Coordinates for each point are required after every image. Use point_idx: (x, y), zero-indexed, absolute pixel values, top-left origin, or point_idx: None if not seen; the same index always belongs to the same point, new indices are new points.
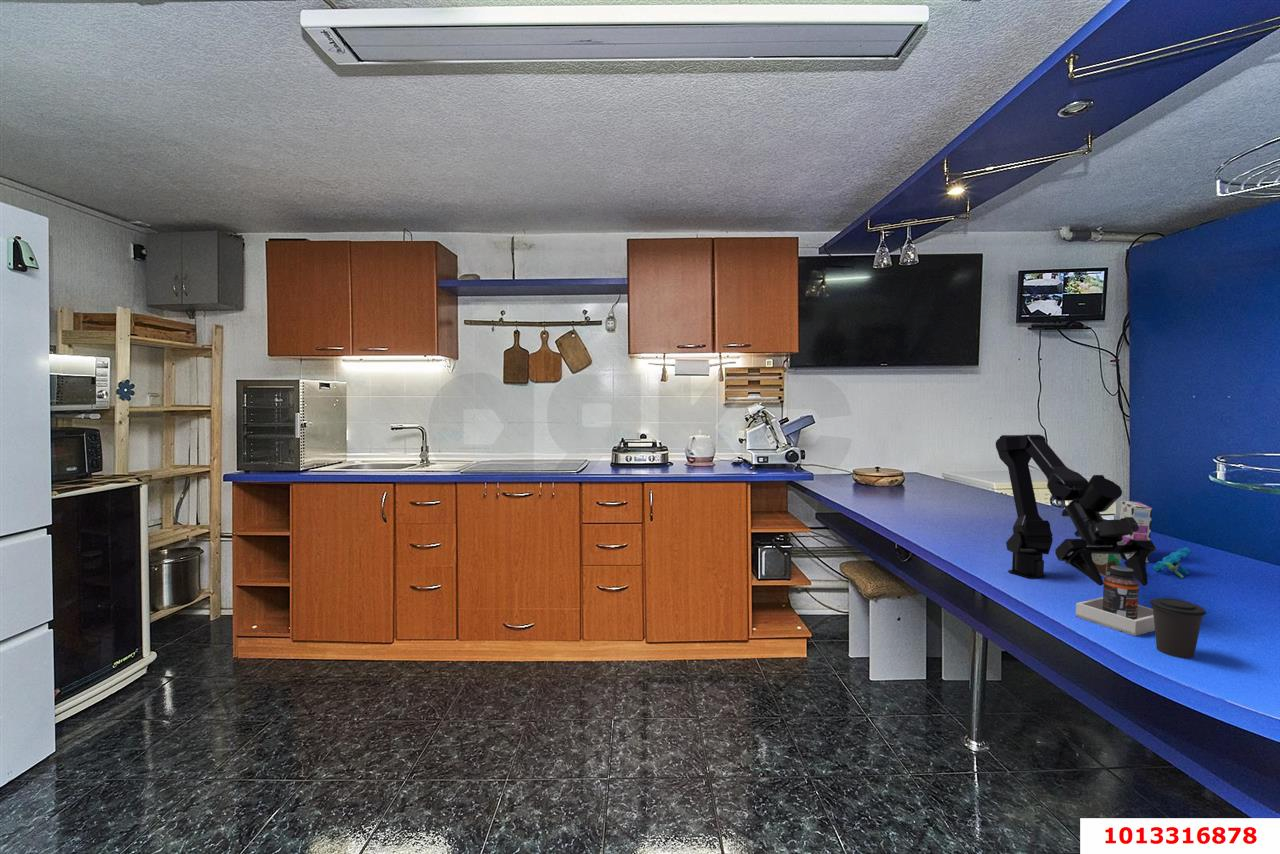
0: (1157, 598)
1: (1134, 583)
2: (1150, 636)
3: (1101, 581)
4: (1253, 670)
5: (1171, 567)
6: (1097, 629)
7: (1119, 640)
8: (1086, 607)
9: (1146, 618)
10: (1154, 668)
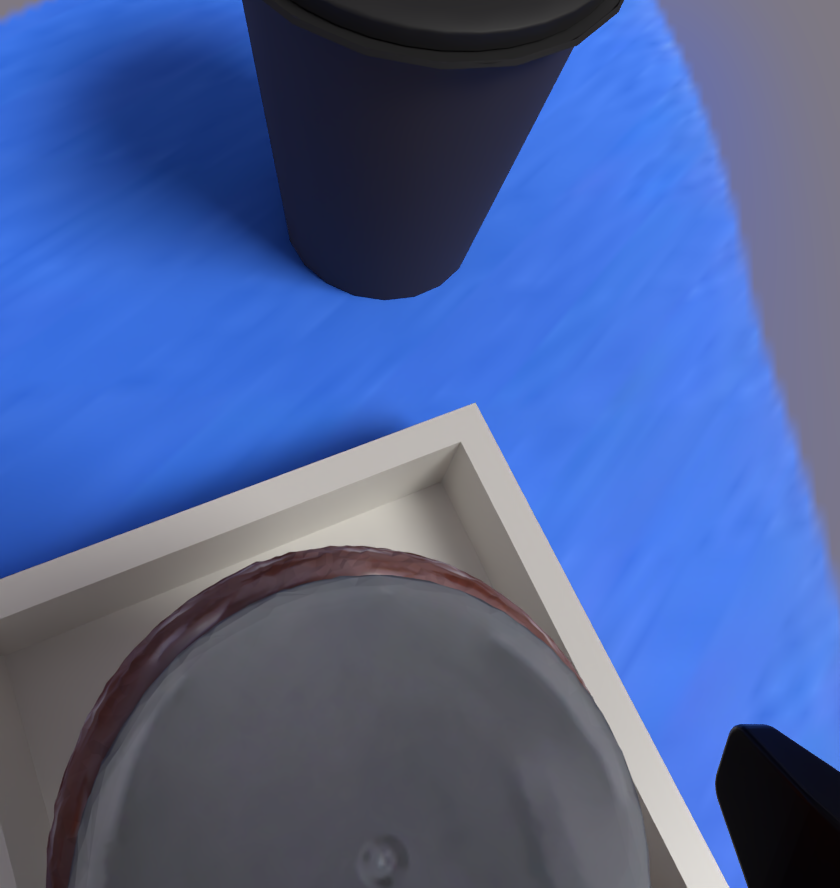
0: (482, 24)
1: (299, 555)
2: (324, 454)
3: (784, 739)
4: (138, 11)
5: None
6: (655, 596)
7: (616, 395)
8: (696, 834)
9: (307, 469)
10: (661, 81)
